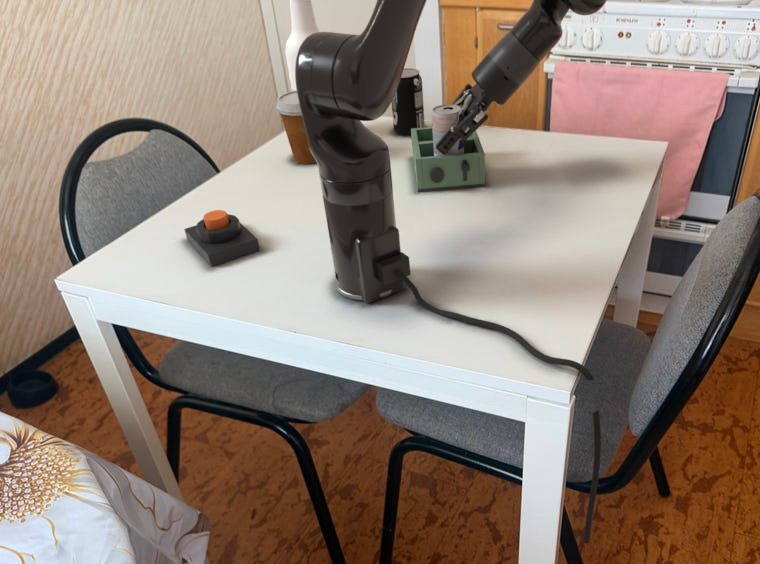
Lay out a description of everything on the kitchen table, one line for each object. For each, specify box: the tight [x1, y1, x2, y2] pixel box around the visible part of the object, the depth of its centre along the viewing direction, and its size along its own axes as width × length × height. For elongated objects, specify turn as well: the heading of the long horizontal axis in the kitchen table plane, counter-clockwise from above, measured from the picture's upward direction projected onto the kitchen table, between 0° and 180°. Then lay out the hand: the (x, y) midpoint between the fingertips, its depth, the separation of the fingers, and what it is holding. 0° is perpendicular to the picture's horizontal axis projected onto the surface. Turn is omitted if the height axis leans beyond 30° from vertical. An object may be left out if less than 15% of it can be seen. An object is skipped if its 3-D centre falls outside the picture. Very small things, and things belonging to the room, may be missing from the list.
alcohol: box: [284, 0, 320, 91], centre depth 139 cm, size 9×9×30 cm
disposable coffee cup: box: [275, 90, 317, 165], centre depth 135 cm, size 10×10×12 cm
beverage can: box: [391, 67, 426, 137], centre depth 144 cm, size 7×7×12 cm
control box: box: [184, 213, 261, 268], centre depth 110 cm, size 11×8×4 cm
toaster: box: [410, 126, 486, 193], centre depth 127 cm, size 12×17×6 cm
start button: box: [202, 209, 229, 230], centre depth 109 cm, size 4×4×2 cm
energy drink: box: [431, 103, 464, 156], centre depth 123 cm, size 5×5×12 cm
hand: (438, 144), depth 123 cm, fingers closed on energy drink, 5 cm apart
